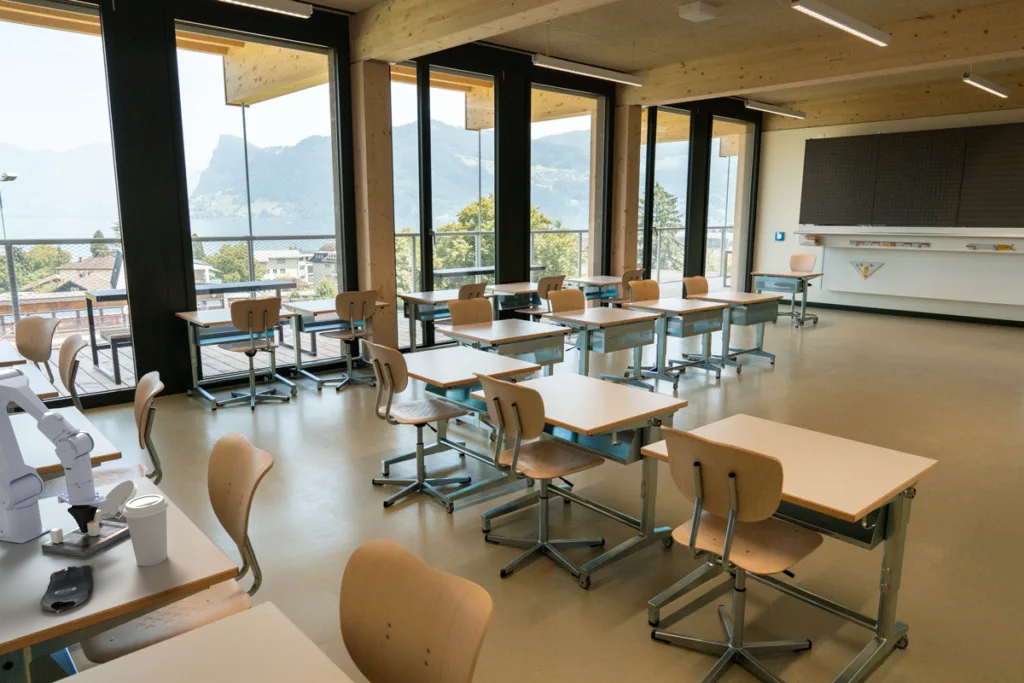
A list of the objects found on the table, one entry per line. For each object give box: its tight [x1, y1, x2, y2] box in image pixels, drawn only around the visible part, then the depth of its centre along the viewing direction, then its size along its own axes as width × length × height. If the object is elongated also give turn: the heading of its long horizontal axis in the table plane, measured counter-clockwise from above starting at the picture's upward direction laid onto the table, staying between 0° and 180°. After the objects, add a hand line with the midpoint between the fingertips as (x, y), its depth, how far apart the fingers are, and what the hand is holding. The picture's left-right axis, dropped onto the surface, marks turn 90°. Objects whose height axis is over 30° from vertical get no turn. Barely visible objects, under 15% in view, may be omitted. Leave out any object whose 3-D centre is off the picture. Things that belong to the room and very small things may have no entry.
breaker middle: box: [87, 520, 100, 536], centre depth 170 cm, size 2×2×4 cm
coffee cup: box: [122, 493, 169, 567], centre depth 160 cm, size 10×10×15 cm
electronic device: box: [40, 563, 96, 614], centre depth 147 cm, size 9×6×15 cm
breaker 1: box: [49, 527, 64, 543], centre depth 167 cm, size 2×2×3 cm
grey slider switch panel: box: [40, 519, 131, 560], centre depth 171 cm, size 14×15×2 cm
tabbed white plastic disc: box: [97, 479, 139, 520], centre depth 189 cm, size 15×8×11 cm, turn 47°
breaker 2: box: [94, 509, 103, 523], centre depth 177 cm, size 2×2×3 cm
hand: (87, 531), depth 171 cm, fingers closed
